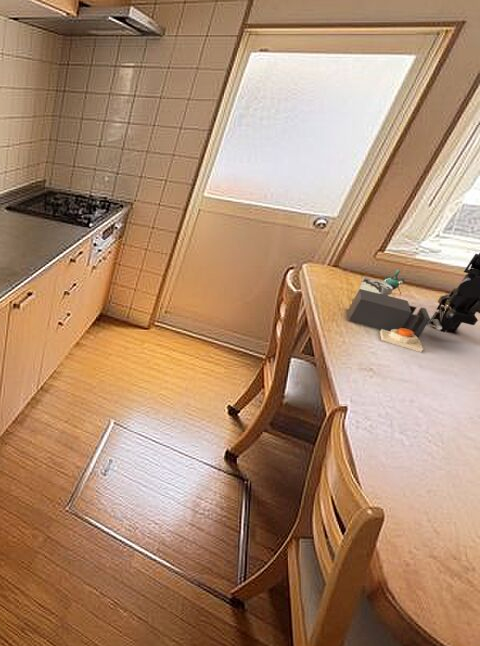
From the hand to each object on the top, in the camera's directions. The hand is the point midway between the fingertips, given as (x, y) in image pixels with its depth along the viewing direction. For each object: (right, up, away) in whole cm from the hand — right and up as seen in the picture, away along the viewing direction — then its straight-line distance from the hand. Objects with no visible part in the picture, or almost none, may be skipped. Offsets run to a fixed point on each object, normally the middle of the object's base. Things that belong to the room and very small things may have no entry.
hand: (442, 331), depth 143 cm
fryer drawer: (-8, +1, +6) cm, 10 cm away
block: (-16, -3, -1) cm, 16 cm away
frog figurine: (+8, +11, +30) cm, 33 cm away
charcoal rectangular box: (-14, +3, +11) cm, 18 cm away
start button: (-16, -1, -2) cm, 16 cm away
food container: (-3, +8, +23) cm, 25 cm away
